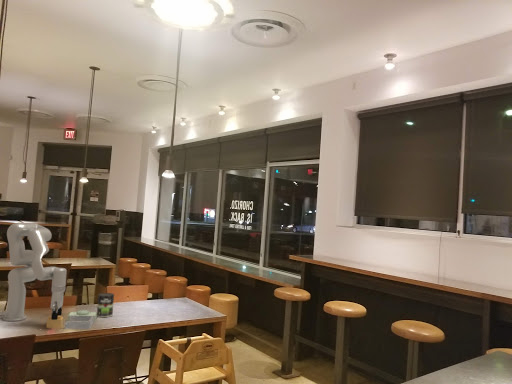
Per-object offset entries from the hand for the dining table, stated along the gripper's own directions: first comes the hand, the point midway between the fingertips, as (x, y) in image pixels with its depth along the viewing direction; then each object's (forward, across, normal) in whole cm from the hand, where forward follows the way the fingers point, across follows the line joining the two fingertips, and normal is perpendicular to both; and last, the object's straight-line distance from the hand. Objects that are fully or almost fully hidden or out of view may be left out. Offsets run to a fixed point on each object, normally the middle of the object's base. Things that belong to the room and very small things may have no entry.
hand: (56, 317), depth 241 cm
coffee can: (+6, -27, +24) cm, 37 cm away
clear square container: (+6, -4, +12) cm, 14 cm away
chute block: (+6, 0, -1) cm, 6 cm away
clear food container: (+6, -15, +12) cm, 20 cm away
